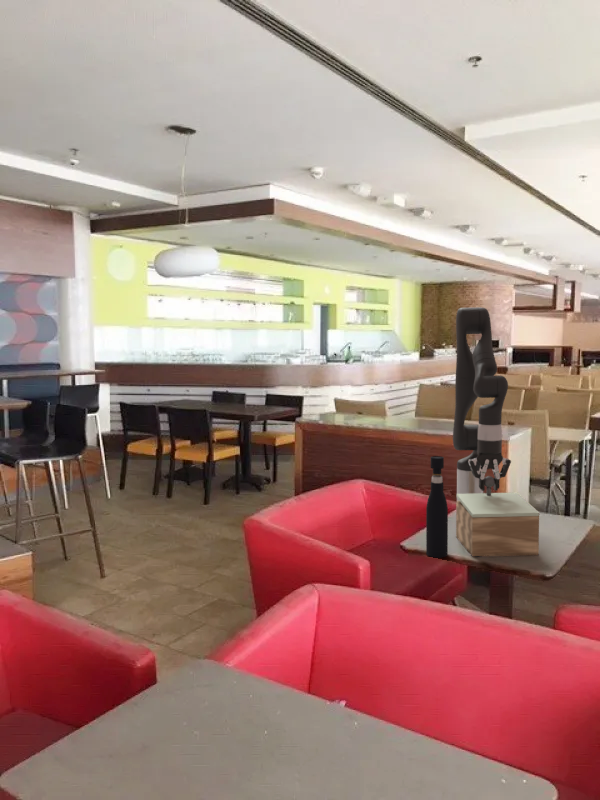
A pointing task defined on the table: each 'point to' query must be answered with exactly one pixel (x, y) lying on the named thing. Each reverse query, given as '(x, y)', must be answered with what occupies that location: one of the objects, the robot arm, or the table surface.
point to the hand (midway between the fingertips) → (488, 489)
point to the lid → (496, 503)
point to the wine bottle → (437, 513)
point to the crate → (497, 534)
